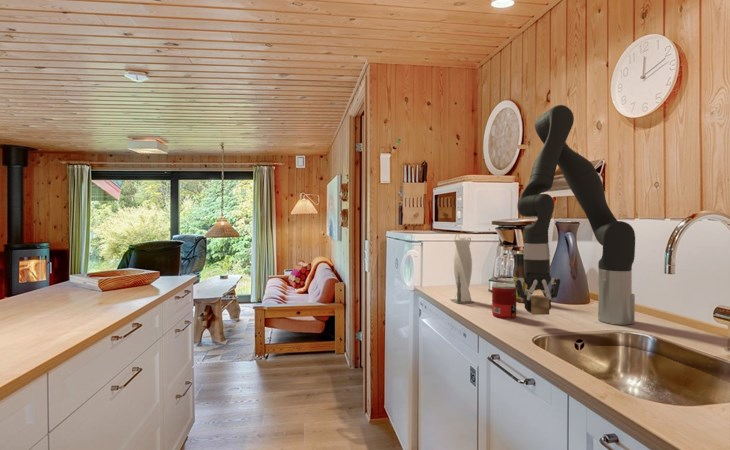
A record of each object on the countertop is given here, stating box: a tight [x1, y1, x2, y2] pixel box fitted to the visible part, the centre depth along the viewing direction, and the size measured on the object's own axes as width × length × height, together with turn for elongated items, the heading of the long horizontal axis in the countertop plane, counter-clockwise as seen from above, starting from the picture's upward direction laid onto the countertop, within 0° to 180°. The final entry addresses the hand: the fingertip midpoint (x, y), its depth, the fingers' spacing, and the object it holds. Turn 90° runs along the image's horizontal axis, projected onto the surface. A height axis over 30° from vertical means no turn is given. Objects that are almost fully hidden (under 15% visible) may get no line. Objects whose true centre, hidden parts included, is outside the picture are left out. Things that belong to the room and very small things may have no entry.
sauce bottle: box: [512, 252, 527, 304], centre depth 158 cm, size 7×6×20 cm
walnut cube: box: [528, 294, 550, 316], centre depth 122 cm, size 5×5×5 cm
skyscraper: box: [449, 233, 475, 305], centre depth 159 cm, size 8×8×28 cm
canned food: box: [491, 282, 517, 320], centre depth 135 cm, size 8×8×11 cm
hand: (537, 310), depth 122 cm, fingers closed on walnut cube, 5 cm apart
